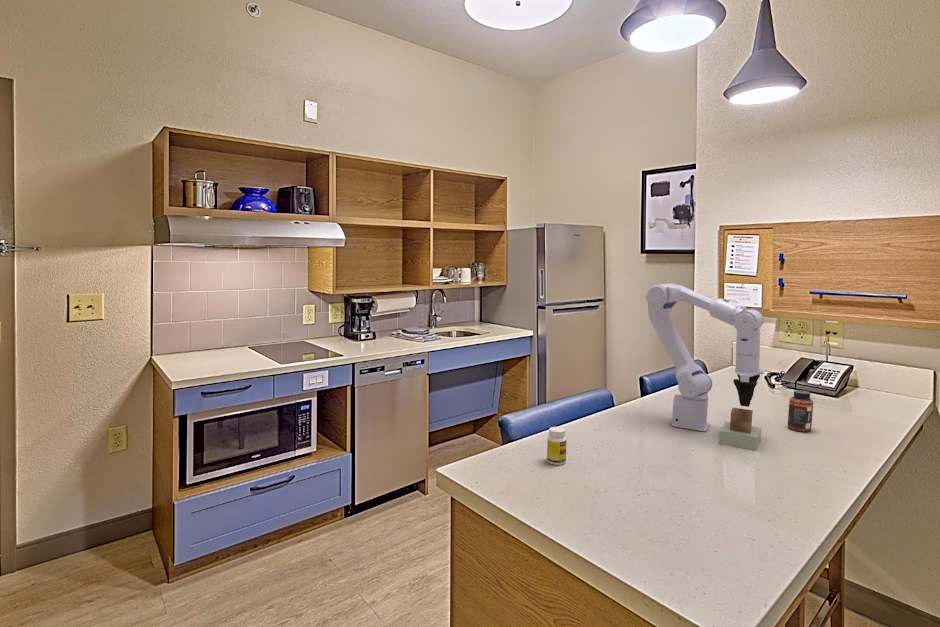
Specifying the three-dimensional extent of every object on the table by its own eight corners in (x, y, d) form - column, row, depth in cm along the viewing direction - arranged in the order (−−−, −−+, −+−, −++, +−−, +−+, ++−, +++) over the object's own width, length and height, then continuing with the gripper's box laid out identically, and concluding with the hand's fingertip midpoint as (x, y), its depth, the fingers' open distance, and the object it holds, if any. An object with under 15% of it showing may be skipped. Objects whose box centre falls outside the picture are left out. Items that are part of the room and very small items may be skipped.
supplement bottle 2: (814, 433, 152) (818, 394, 150) (791, 431, 153) (794, 393, 151) (806, 426, 157) (809, 389, 156) (784, 425, 159) (786, 388, 157)
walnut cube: (729, 430, 144) (730, 412, 143) (731, 424, 148) (732, 407, 148) (750, 433, 142) (751, 415, 141) (751, 427, 146) (752, 410, 145)
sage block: (718, 444, 144) (719, 430, 144) (724, 435, 152) (725, 421, 151) (755, 452, 139) (756, 437, 139) (760, 441, 146) (761, 427, 146)
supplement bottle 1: (561, 467, 129) (562, 433, 128) (543, 462, 132) (544, 430, 131) (568, 460, 133) (569, 428, 132) (551, 456, 136) (552, 424, 135)
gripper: (762, 359, 137) (760, 411, 138) (766, 350, 149) (764, 398, 150) (732, 357, 140) (730, 407, 142) (738, 348, 152) (736, 395, 154)
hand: (746, 402), depth 146 cm, fingers open, 7 cm apart
